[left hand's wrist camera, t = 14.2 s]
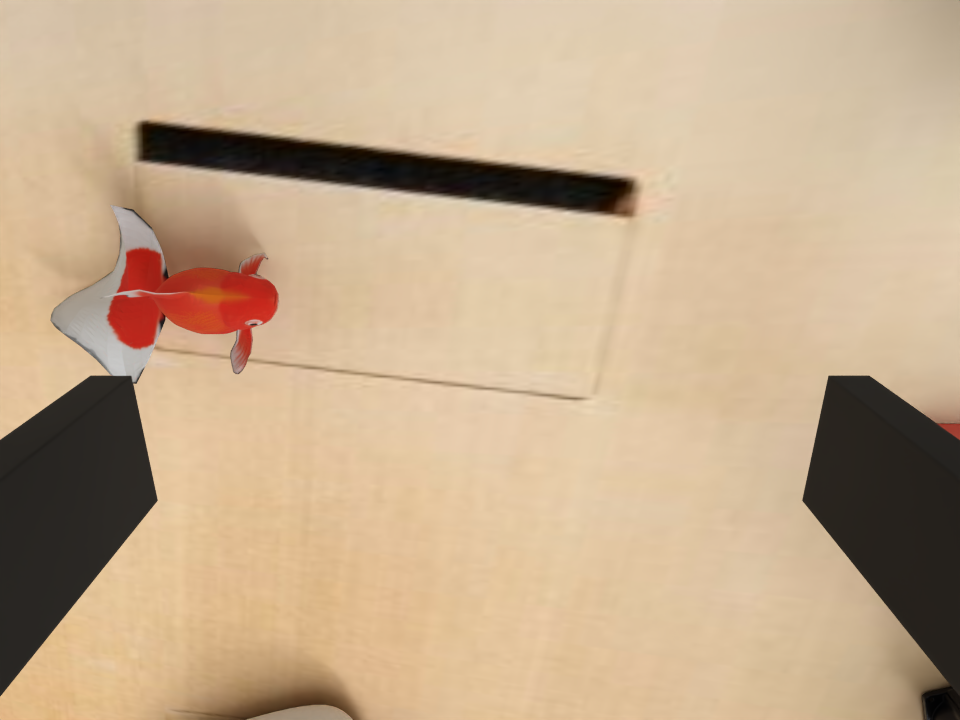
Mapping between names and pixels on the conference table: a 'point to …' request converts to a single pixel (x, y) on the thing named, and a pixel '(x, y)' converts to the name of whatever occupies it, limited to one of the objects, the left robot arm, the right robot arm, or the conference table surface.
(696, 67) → the conference table surface
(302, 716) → the projector
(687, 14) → the conference table surface
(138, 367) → the fish
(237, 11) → the conference table surface
